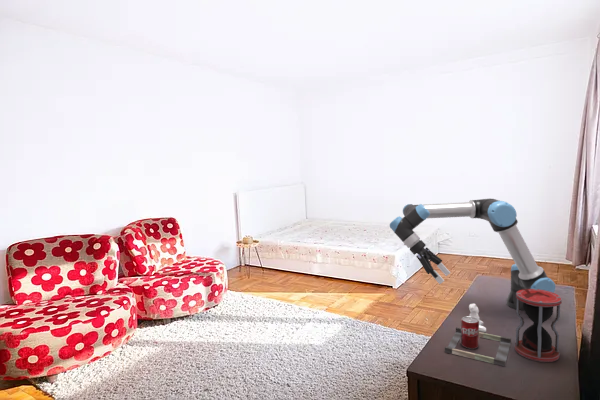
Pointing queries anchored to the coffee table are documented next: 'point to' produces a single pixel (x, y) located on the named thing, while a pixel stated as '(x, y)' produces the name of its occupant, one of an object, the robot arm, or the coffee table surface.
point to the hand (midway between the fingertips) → (445, 278)
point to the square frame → (499, 359)
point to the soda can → (469, 332)
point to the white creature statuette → (476, 316)
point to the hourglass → (537, 325)
